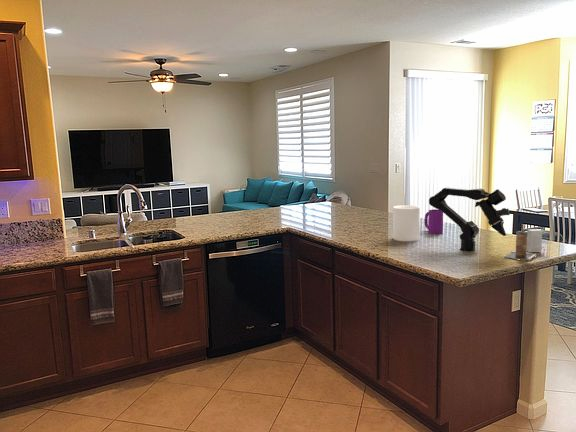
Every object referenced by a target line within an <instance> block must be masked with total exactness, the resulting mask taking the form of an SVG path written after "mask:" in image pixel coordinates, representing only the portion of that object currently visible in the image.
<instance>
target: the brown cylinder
mask: <svg viewBox="0 0 576 432" xmlns="http://www.w3.org/2000/svg"><path fill="white" fill-rule="evenodd" d="M527 233H528V232H527V231H523V230H517V231H516V234H515V236H516V237H515V252H516V256H515V257H516V258H526V256H527V253H528V252H527Z"/></svg>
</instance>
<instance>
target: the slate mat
mask: <svg viewBox="0 0 576 432" xmlns="http://www.w3.org/2000/svg"><path fill="white" fill-rule="evenodd" d="M515 256H516V250H511V251H510V253H509V254H506V255H505V256H503V259H507V258H511V259H510V260H514V259H520V260H519V261H522V260H528V261H527V262H530V261H529V260H531V259H532V258H534V257H535V256H536V257H537V254H536V253H529V252H527V256H526V258H516V257H515ZM536 257H535V258H536ZM535 258H534V259H535ZM532 260H533V259H532ZM532 260H531V261H532Z"/></svg>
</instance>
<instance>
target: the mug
mask: <svg viewBox="0 0 576 432" xmlns="http://www.w3.org/2000/svg"><path fill="white" fill-rule="evenodd" d="M424 227H425V228H426V229H427V230H428V233H429V234H432V235H440V234H441V235H442V234H443V233H444V213H443V212H442V211H441V210H439V209H436V208H434V209H429V210H428V211H426V213H425V215H424Z"/></svg>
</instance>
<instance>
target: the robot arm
mask: <svg viewBox="0 0 576 432" xmlns="http://www.w3.org/2000/svg"><path fill="white" fill-rule="evenodd" d="M449 196H453V197H455V196H456V197H464V198H469V199H471V200H474V201H475V205H474V207H475V208H477V207H480V209H481V211H482V213H483V214H484V216H485V217H486V219H487V220H488V222H487V223H488V225H489V226H490V227H491V228H492V229H494V231H496V232H497V233H499V234H500V235H501V236H503V237H505V236H507V233H506V230H505V228H504V223H505V221H504V219H503V216H510V215H511V214H510V210H509V208H506V207H504V208H501V209H499V210H497V209H496V208H495V207H494V206H497V205H499V204H501V203H503V202H504V201H506V200H507V198H506V195H505V194H504V193H503V192H502V191H501V190H500V189H499V188H498V189H497V188H496V189H495V190H494V191H492V192H491V193H489V192H487V191H486V190H485V189H484V188H472V189H464V188H453V187H452V188H451V187H444V188H442V189H441V190H440V191H438V192H437V193H436V194H434V195H433V196H430V197H429V199H428V204H429V206H431V207H433V208H434V209H438V210H441V211H442V212H443V215H445V216H447V217H448V218H449V219H450V220H451V221H452V222H453V223H455V224H456V226H458V227H459V228H460V231H461V232H462V233H461V234H460V235H459V239H460V248H459V250H460V251H466V252H469V251H470V252H473V251H475V250H476V241H475V238H476V237H477V236H478V235H479V232H480V229H479V227H478V225H477V224H476V223H475V222H474V221H472V220H470V221H467V220H466V219H464V218H463V217H462V216H461V215H459V213H457V212H456V211H455V210H454V209H453V208H451V207H450V206H449V205H448V203H447V201H446V199H447V198H448V197H449Z"/></svg>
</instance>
